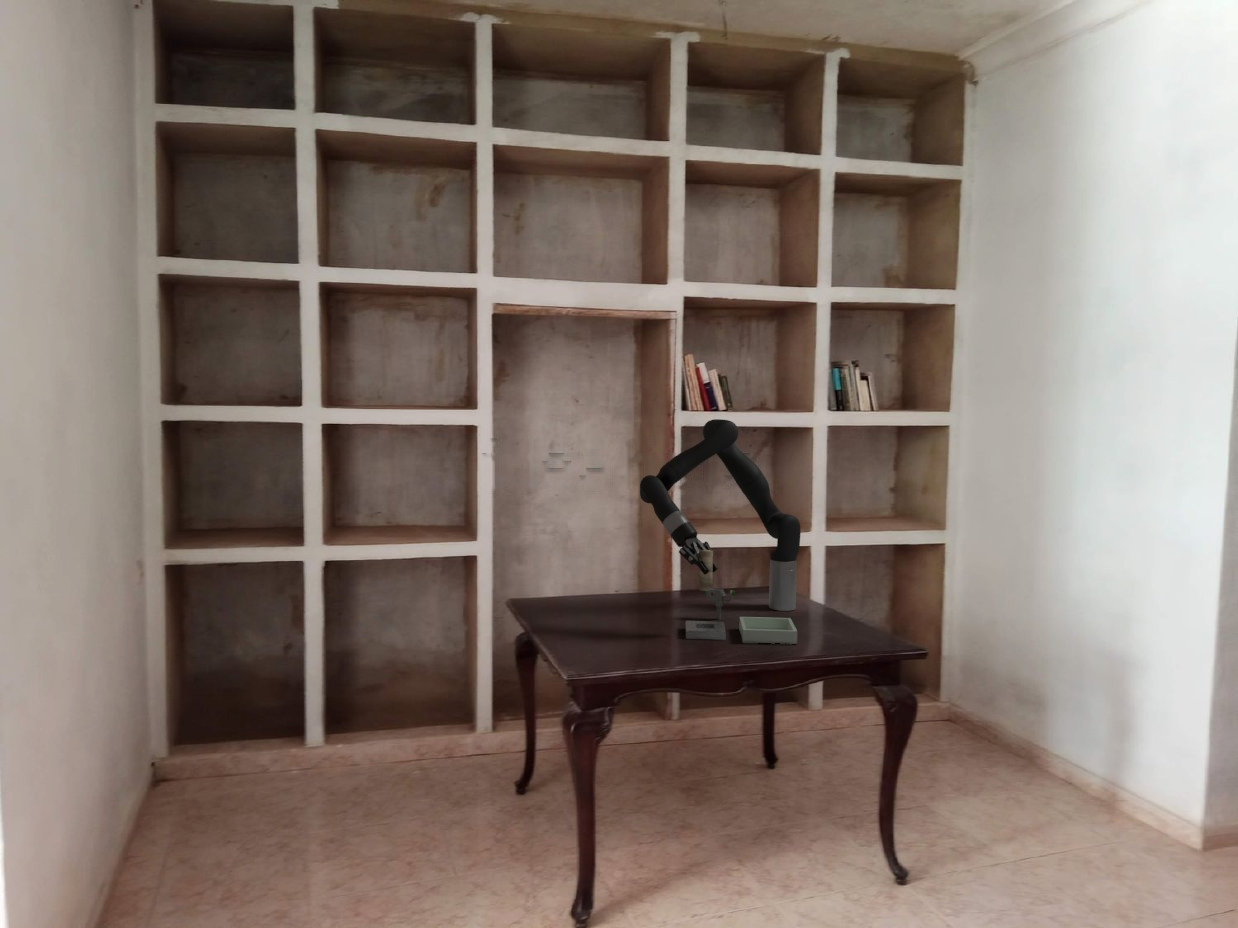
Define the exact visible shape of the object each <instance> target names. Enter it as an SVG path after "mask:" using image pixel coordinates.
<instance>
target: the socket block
mask: <svg viewBox="0 0 1238 928" xmlns="http://www.w3.org/2000/svg"><path fill="white" fill-rule="evenodd" d="M726 632H727V631H726V626H725V622H724V621H715V620H714V621H712V620H711V621H710V620H709V621H708V620H707V621H706V620H685V639H688V640H689V639H690V640H714V641H715V640H718V641H719V640H720V641H723V640H724V641H726V637H727V636H726V634H727V633H726Z"/></svg>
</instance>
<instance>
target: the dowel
mask: <svg viewBox="0 0 1238 928" xmlns="http://www.w3.org/2000/svg"><path fill="white" fill-rule="evenodd" d="M711 550H712V549H711ZM711 550H700V557H701V558H702V561H704V563H705V564H706V565H707V567H708V568H709V569H710V571H709V572H708V573H707V574H705V575H704V574H703V572H702V571H701V570H700V569H699V580H698V581H699V582H698V583H699V588H698V589H699V591H711V590H712V588H713V578H714V577H713V574H714V572H713V562H714V556H713V554H714V550H712V551H711Z"/></svg>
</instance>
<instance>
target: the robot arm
mask: <svg viewBox="0 0 1238 928" xmlns="http://www.w3.org/2000/svg"><path fill="white" fill-rule="evenodd" d="M702 435H703V436H702V437H703V440H701V441H700V442H699V443H697V444H696V445H693V446H692V447H690V448H688V449H686V450H684V451H682V452H680V453H678V454H677V455H675V456H674V457H672V458H671V459H670V460H669V461H668V462H665V463H664V465H663V466H662V467H660V469H659V471H658V473H657V474H656V476H655V475H651V474H650V475H649V474H648V475H645V476H644V477H643V478H642V479H641V481H640V483H639V496H640V498H641V500H642V501H643V502H644V503H645V504H651V505H652V507H653V511H654V513H655V515H656V517H657V518H658V520H659V521H660V522H661V524H662V525H663V527H664V528H665V531H666V532H667V533H668V535H669V536H670V538H671V539H672V540H673V542H674V544H676V545H677V547H679V548H680V550H678V553H679V554H680V556H682V557H683V559H685V560H686V561H687V562H688V563H689V564H690V565H692V566H693V565H694V566H697V568H699V571H700V570H701V571H702V572H703V574H704V575H705V574H707V573H708V572H709V571H710V569H709V568H708V567H707V565H706V564H705V563H704V561H702V558H701V557H700V550H711V551H713V550H712V548H711V546H710V544H709V542H708V541H704V542H702V541H701V540H700V539H699V538H698V531H697V530H696V528H695V527H694V526H693V525H692V523H691V521H689V519H688V518H687V517H686V515H685V514H684V513H683V512H682V511H681V510H680V508H679V507H678V506H677V504H676V503H675V502H674V500H672V498H671V495H670V494H669V491H670V489H671V488H672V487H673V486H675V484H677V483H678V482H679V481H680V480H682V479H683V478H684V477H686V475H688V474H689V473H691V471H694V469H696V468H697V467H699V466H700V465H701V464H703V463H704V462H705V461H707V460H708V459H710V458H711V457H713V456H715V455H717V456H718V458H719V459H720V461H721V462H722V463H723V465H724V466H725V468H726V469H727V471H728V472H729V474H730V475H731V477H732V478H733V480H734V482H735V483H736V485H737V486H738V488H739V489H740V491H741V492H742V494H743V495H744V496H745V497H746V499H747V501H748V503H750V505H751V506H752V508H753V509H754V510H755V512H756V514H757V515H758V517H759V519H760V520H761V522H762V525H763V526H764V529H765V530H766V533H768V535H769V536H770V537H772V538H773V539H776V540H777V541H776V542H777V543H776V548H774V549H772V550H771V551H770V552H769V582H768V583H769V586H768V587H769V589H768V593H769V594H768V608H769V609H770V610H774V611H775V610H776V611H779V612H780V611H782V612H788V611H794V610H796V602H797V559H798V554H799V552H800V547H801V545H800V544H801V532H802V531H801V530H802V529H801V522H800V520H799V519H798V518H797V517H796V516H795V515H791V514H788V513H787V514H786V513H783V512H782V511H781V510H780V509H779V508H778V507H777V505H776V504H775V503H774V501H773V499H772V497H771V489H770V485H769V482H768V480H767V478H766V476H765V475H764V474H763V472H762V471H761V468H760V467H759V466H758V465H757V464H756V463H755V462H754V461H753V460H752V459H751V458H749V457H748V456H747V455H746V454H745V453H744V452H742V451H741V450H740V449H739V447H738V446H737V445H736V441H737V440H738V438H739V428H738V426H737V425H736V423H735V422H734V421H732V420H728V419H720V418H719V419H716V418H714V419H710V420H708V421H707V422H705V424H704V425H703V429H702ZM714 556H715V554H714V553H713V557H714ZM718 569H719V568H718V566H717V564H716V563H715V562H714V561H713V573H716V571H717V570H718Z"/></svg>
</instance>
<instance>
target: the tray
mask: <svg viewBox="0 0 1238 928" xmlns="http://www.w3.org/2000/svg"><path fill="white" fill-rule="evenodd" d="M738 624H739V625H738V626H739V627H738V630H739V633H740V638H741V641H742V644H758V643H771V644H770V645H776V644H775V643H780V644H779V645H792V644H797V645H798V629H797V628H796V625H795V624H794V622H793V620H792V619H791V617H770V616H769V617H761V616H760V617H758V616H739V623H738ZM785 643H787V644H785ZM788 643H789V644H788Z"/></svg>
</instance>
